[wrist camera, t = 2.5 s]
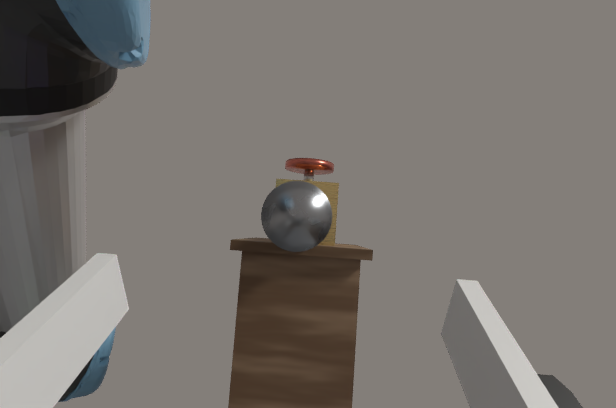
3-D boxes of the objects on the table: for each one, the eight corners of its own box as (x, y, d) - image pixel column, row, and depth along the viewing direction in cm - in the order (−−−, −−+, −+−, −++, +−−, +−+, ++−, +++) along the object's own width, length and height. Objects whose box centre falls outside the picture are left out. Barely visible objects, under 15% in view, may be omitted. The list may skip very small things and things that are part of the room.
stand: (354, 584, 30) (372, 250, 33) (200, 568, 31) (230, 239, 33) (341, 473, 44) (355, 244, 47) (236, 463, 45) (255, 237, 47)
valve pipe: (349, 255, 21) (359, 103, 22) (238, 247, 21) (252, 97, 22) (331, 243, 45) (335, 171, 46) (279, 239, 45) (284, 167, 46)
